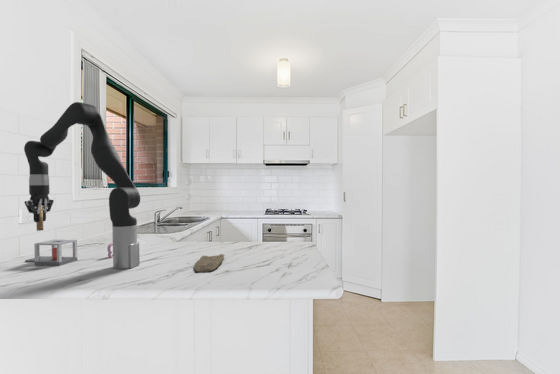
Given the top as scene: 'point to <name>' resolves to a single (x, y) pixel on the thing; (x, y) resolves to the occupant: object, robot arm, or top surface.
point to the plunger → (54, 253)
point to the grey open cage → (60, 259)
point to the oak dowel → (40, 224)
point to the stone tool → (208, 263)
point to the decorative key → (109, 250)
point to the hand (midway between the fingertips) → (40, 221)
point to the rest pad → (40, 258)
